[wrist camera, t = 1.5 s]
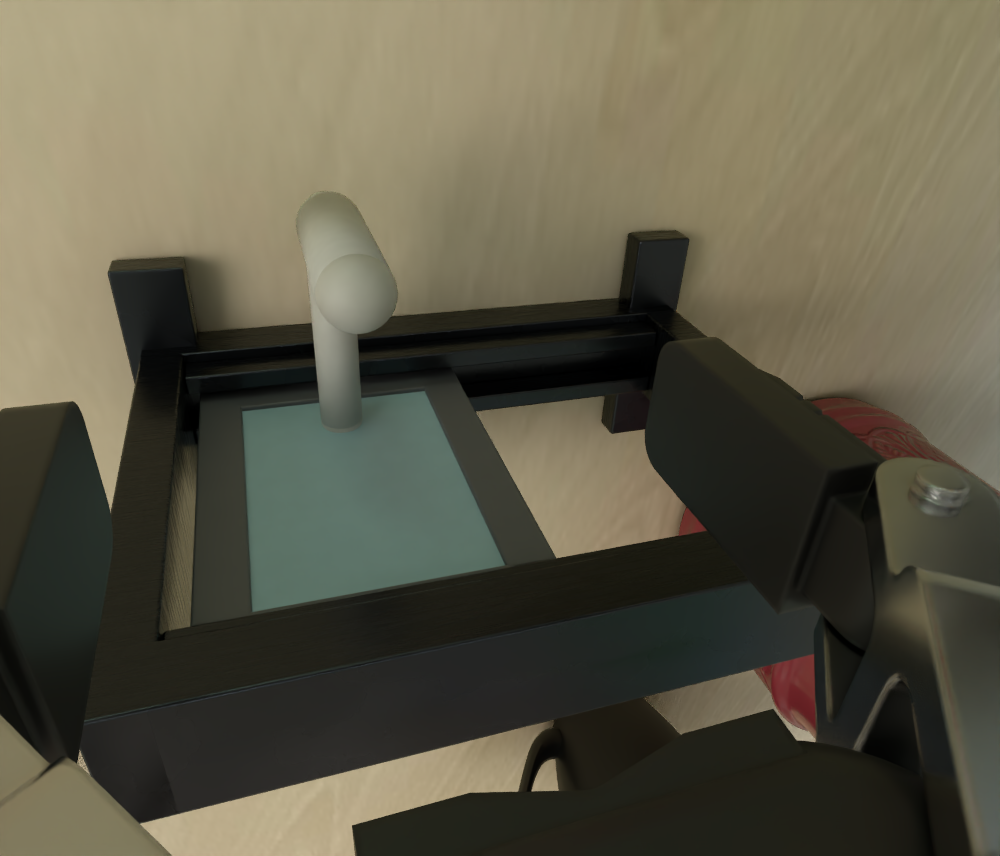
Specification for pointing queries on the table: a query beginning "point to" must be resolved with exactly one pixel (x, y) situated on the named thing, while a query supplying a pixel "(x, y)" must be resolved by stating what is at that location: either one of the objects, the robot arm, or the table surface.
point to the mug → (598, 744)
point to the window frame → (401, 611)
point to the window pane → (347, 460)
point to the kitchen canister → (891, 441)
